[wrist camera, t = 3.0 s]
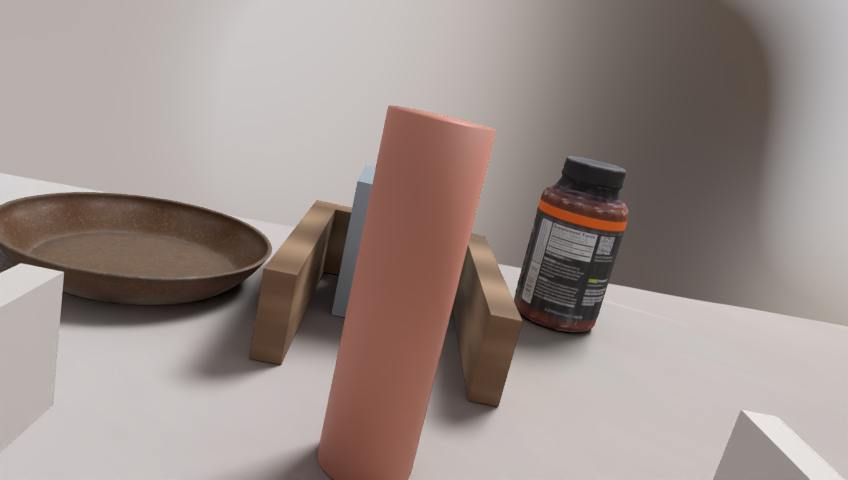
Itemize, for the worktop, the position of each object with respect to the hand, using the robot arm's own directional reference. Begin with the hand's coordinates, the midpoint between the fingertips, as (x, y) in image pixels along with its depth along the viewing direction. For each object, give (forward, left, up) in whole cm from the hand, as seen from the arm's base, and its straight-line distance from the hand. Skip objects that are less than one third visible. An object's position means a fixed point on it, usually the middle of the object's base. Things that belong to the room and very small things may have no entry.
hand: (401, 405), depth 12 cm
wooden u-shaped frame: (+10, -21, -8) cm, 24 cm away
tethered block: (+8, -17, -8) cm, 20 cm away
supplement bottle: (+2, -32, -8) cm, 33 cm away
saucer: (+23, -16, -9) cm, 29 cm away
